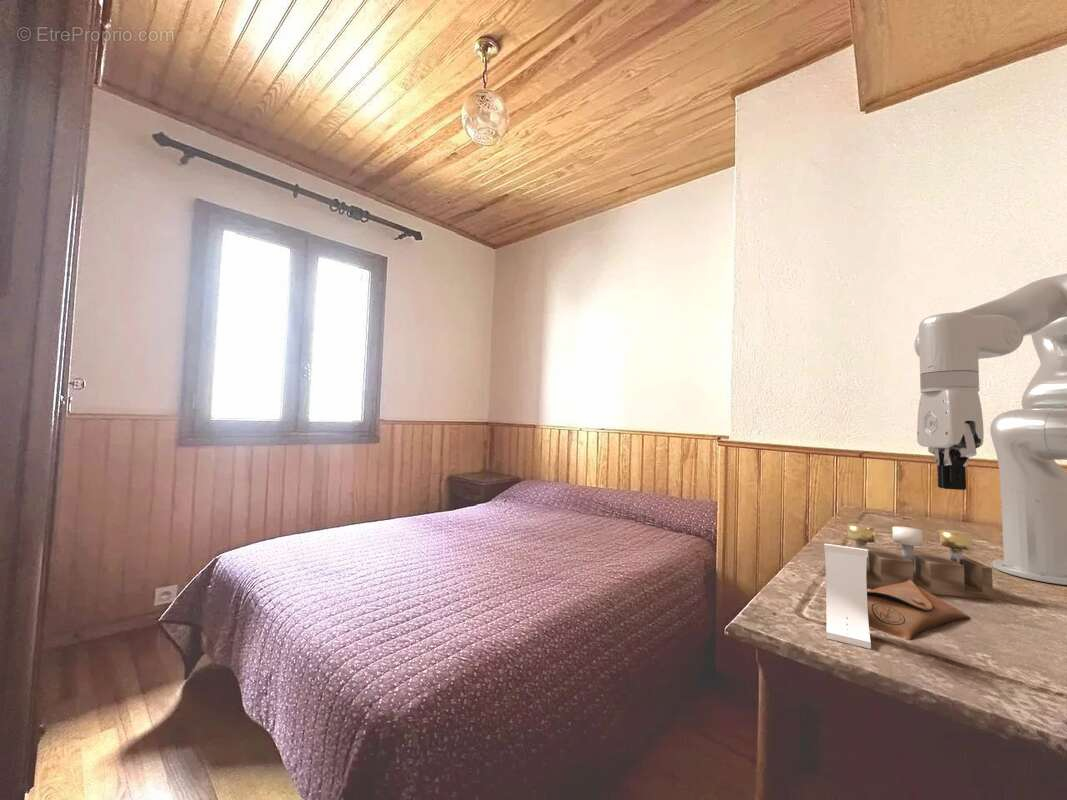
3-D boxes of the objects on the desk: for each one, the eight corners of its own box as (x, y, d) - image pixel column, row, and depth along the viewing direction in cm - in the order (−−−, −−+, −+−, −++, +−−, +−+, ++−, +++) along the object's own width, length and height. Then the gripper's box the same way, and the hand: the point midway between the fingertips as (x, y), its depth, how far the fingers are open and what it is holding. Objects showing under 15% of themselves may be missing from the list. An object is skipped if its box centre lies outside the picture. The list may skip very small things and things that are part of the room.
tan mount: (959, 582, 78) (958, 554, 78) (993, 599, 70) (991, 568, 70) (837, 571, 83) (837, 544, 83) (856, 586, 75) (855, 556, 75)
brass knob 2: (963, 567, 76) (961, 530, 76) (979, 574, 72) (977, 536, 72) (935, 564, 77) (934, 528, 77) (950, 571, 73) (948, 534, 74)
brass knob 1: (869, 559, 80) (868, 524, 80) (880, 565, 76) (879, 529, 76) (844, 557, 81) (843, 522, 81) (854, 563, 77) (853, 527, 77)
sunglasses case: (911, 642, 55) (879, 587, 59) (859, 649, 60) (832, 598, 64) (973, 617, 63) (942, 569, 67) (923, 625, 68) (896, 581, 72)
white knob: (915, 563, 78) (914, 527, 78) (928, 570, 74) (927, 532, 74) (889, 560, 79) (887, 525, 79) (900, 567, 75) (899, 530, 75)
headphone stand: (826, 638, 56) (823, 544, 57) (826, 621, 61) (824, 535, 62) (871, 649, 54) (868, 550, 54) (868, 630, 59) (865, 540, 59)
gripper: (900, 388, 85) (902, 482, 83) (950, 379, 70) (953, 493, 69) (947, 388, 83) (950, 485, 81) (1008, 379, 68) (1013, 496, 67)
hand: (951, 488), depth 75 cm, fingers closed
